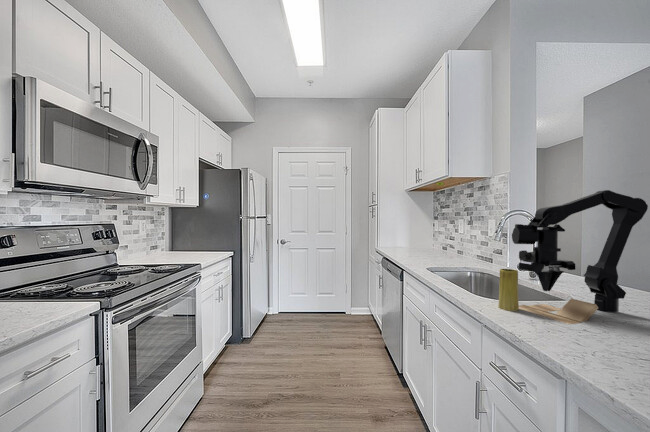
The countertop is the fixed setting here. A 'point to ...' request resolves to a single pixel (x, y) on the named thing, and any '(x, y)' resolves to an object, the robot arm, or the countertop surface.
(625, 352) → the countertop surface
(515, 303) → the vase
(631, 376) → the countertop surface
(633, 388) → the countertop surface
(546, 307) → the plank
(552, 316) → the laid board
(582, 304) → the plank
